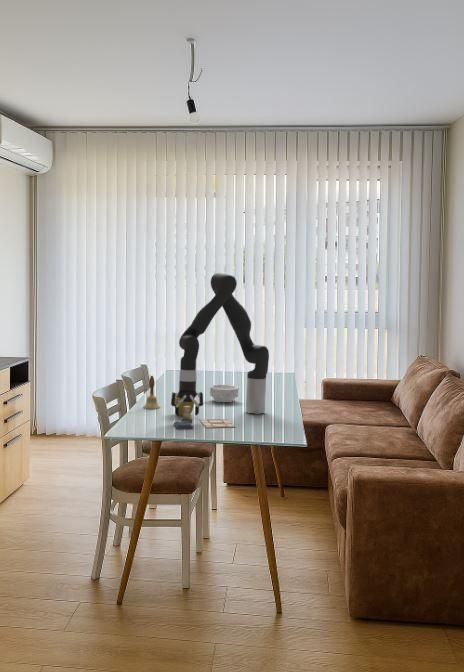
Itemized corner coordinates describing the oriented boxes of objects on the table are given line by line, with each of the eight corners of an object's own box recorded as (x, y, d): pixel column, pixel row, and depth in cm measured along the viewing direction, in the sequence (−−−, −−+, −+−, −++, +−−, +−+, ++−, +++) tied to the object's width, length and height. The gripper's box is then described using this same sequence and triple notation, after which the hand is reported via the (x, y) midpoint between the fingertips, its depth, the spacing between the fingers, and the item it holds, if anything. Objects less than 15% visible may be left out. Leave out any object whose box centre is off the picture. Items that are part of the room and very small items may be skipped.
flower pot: (175, 417, 302) (176, 397, 301) (172, 413, 310) (173, 394, 309) (194, 416, 304) (194, 397, 303) (190, 412, 313) (191, 394, 312)
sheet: (199, 420, 296) (199, 419, 296) (227, 419, 299) (227, 418, 299) (206, 428, 280) (206, 427, 280) (235, 427, 283) (235, 426, 283)
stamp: (180, 421, 293) (180, 405, 293) (191, 420, 294) (191, 405, 294) (182, 423, 288) (182, 408, 288) (193, 423, 290) (193, 407, 289)
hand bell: (149, 409, 317) (149, 377, 316) (140, 407, 323) (140, 375, 322) (163, 408, 322) (164, 376, 321) (154, 405, 328) (154, 374, 327)
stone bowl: (238, 404, 338) (238, 389, 337) (208, 403, 338) (209, 388, 337) (238, 399, 353) (238, 384, 352) (210, 398, 353) (210, 384, 352)
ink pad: (173, 424, 286) (173, 421, 285) (189, 424, 287) (189, 420, 287) (176, 429, 277) (176, 425, 277) (192, 428, 278) (192, 425, 278)
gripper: (201, 378, 295) (200, 413, 296) (170, 378, 292) (169, 413, 293) (205, 380, 288) (203, 416, 289) (173, 380, 284) (172, 417, 286)
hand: (186, 415), depth 291 cm, fingers open, 8 cm apart
